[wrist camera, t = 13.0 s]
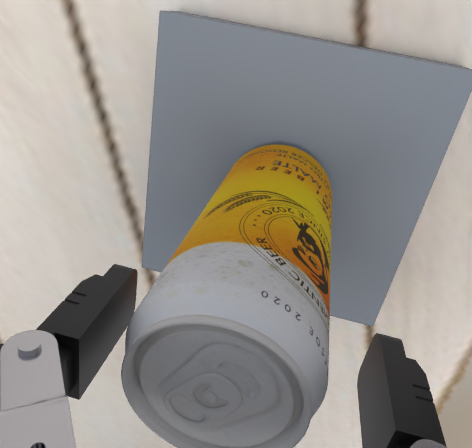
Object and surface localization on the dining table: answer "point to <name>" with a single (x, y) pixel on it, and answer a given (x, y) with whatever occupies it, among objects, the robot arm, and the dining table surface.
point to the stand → (300, 137)
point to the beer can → (240, 313)
